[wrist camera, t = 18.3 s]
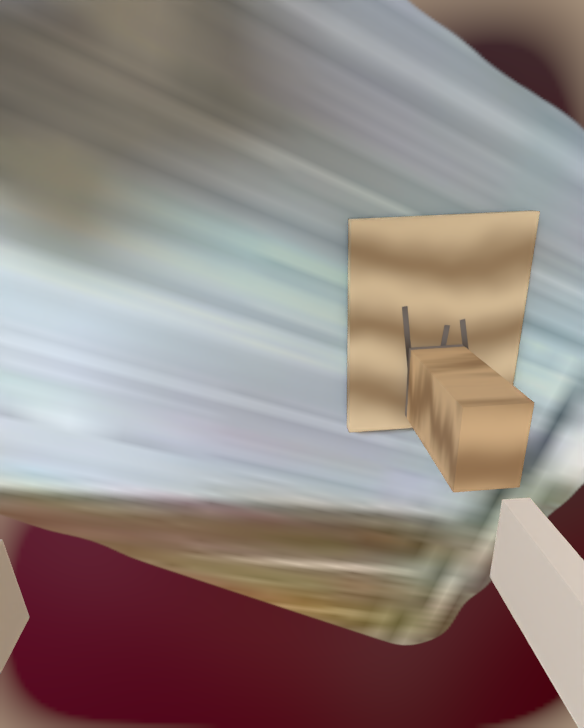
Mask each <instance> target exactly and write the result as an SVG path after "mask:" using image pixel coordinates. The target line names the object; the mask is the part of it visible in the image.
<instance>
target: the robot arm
mask: <svg viewBox="0 0 584 728" xmlns="http://www.w3.org/2000/svg"><path fill="white" fill-rule="evenodd" d="M490 578H491V580H492V581H493V583H494V585H495V586H496V588H497V590H498V591H499V593H500V595H501V597H502V598H503V600H504V602H505V604H506V605H507V607H508V609H509V610H510V612H511V614H512V616H513V617H514V619H515V621H516V622H517V624H518V626H519V627H520V629H521V631H522V632H523V634H524V636H525V638H526V639H527V641H528V643H529V644H530V646H531V648H532V649H533V651H534V653H535V655H536V656H537V658H538V660H539V662H540V663H541V665H542V667H543V668H544V670H545V672H546V674H547V675H548V677H549V679H550V680H551V682H552V684H553V685H554V687H555V689H556V691H557V692H558V694H559V696H560V697H561V699H562V700H563V703H564V704H565V706H566V708H567V709H568V711H569V713H570V715H571V716H572V718H573V720H574V721H575V723H576V725H577V726H578V728H584V560H583V559H582V558H581V557H580V556H579V555H578V554H577V552H576V551H575V550H574V549H573V548H572V546H571V545H570V544H569V543H568V542H567V541H566V539H565V538H564V537H563V536H562V535H561V534H560V533H559V531H558V530H557V529H556V528H555V527H554V525H553V524H552V523H551V522H550V521H549V520H548V518H547V517H546V516H545V515H544V514H543V513H542V511H541V510H540V509H539V508H538V507H537V506H536V504H535V503H534V502H533V501H532V500H531V499H530V497H529V498H517V499H504V500H502V503H501V510H500V516H499V522H498V528H497V534H496V541H495V547H494V553H493V559H492V565H491V571H490ZM28 619H29V614H28V612H27V609H26V606H25V603H24V600H23V597H22V594H21V592H20V589H19V586H18V583H17V580H16V577H15V575H14V571H13V569H12V566H11V563H10V560H9V557H8V554H7V551H6V549H5V546H4V543H3V540H0V673H1V671H2V669H3V667H4V666H5V663H6V662H7V660H8V658H9V656H10V654H11V652H12V650H13V648H14V646H15V644H16V642H17V640H18V638H19V636H20V635H21V633H22V631H23V628H24V627H25V625H26V623H27V621H28Z"/></svg>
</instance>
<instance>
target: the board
mask: <svg viewBox="0 0 584 728" xmlns="http://www.w3.org/2000/svg"><path fill="white" fill-rule="evenodd" d="M539 213H540V211H512V212H490V213H469V214H448V215H426V216H405V217H383V218H362V219H348V341H347V428H348V431H349V432H361V431H375V430H390V429H404V428H413V427H412V426H411V424H410V422H409V421H408V419H407V418H406V416H405V405H406V388H407V371H408V354H409V348H412V347H428V346H444V345H460V344H462V345H463V346H465V347H466V348H467V349H468V350H470V351H471V352H472V353H473V354H475V355H476V356H477V357H478V358H480V359H481V360H482V361H483V362H485V363H486V364H487V365H488V366H489V367H491V368H492V369H493V370H494V371H496V372H497V373H498V374H499V375H501V376H502V377H503V378H504V379H506V380H507V381H508V382H509V383H511V384H512V385H513V381H514V375H515V368H516V362H517V356H518V349H519V343H520V336H521V330H522V323H523V317H524V310H525V304H526V297H527V291H528V284H529V278H530V272H531V265H532V259H533V252H534V246H535V239H536V233H537V226H538V220H539Z"/></svg>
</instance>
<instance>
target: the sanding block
mask: <svg viewBox="0 0 584 728" xmlns="http://www.w3.org/2000/svg"><path fill="white" fill-rule="evenodd" d="M533 407H534V402H533V401H532V400H530V399H529V398H528V397H527V396H525V395H524V394H523V393H522V392H520V391H519V390H518V389H517V388H516V387H514V386H513V385H512V384H511V383H509V382H508V381H507V380H506V379H504V378H503V377H502V376H501V375H499V374H498V373H497V372H496V371H494V370H493V369H492V368H491V367H489V366H488V365H487V364H486V363H485V362H483V361H482V360H481V359H480V358H478V357H477V356H476V355H475V354H473V353H472V352H471V351H470V350H468V349H467V348H466V347H465V346H463V345H462V344H460V345H444V346H428V347H412V348H409V354H408V371H407V388H406V405H405V416H406V418H407V419H408V421H409V422H410V424H411V426H412V427H413V429H414V430H415V432H416V434H417V435H418V437H419V438H420V440H421V442H422V443H423V445H424V446H425V448H426V449H427V451H428V453H429V454H430V456H431V457H432V459H433V461H434V462H435V464H436V465H437V467H438V469H439V470H440V472H441V473H442V475H443V477H444V478H445V480H446V481H447V483H448V485H449V486H450V488H451V489H452V491H453V492H464V491H477V490H489V489H502V488H515V487H520V481H521V475H522V470H523V464H524V458H525V453H526V447H527V441H528V436H529V430H530V424H531V419H532V413H533Z"/></svg>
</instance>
